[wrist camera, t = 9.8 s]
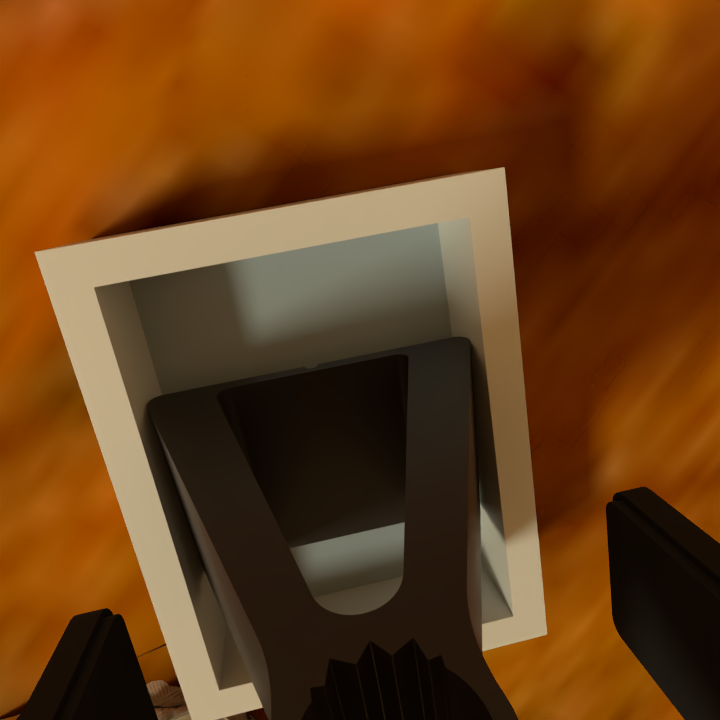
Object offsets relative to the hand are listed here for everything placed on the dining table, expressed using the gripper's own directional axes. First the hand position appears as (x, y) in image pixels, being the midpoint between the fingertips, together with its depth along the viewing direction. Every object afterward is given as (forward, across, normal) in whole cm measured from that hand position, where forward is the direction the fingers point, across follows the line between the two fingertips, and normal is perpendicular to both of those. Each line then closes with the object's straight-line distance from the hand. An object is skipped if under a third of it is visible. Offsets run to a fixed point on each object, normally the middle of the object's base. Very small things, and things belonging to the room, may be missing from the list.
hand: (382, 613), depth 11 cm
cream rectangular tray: (+9, 0, -1) cm, 9 cm away
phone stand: (+7, 0, 0) cm, 7 cm away
